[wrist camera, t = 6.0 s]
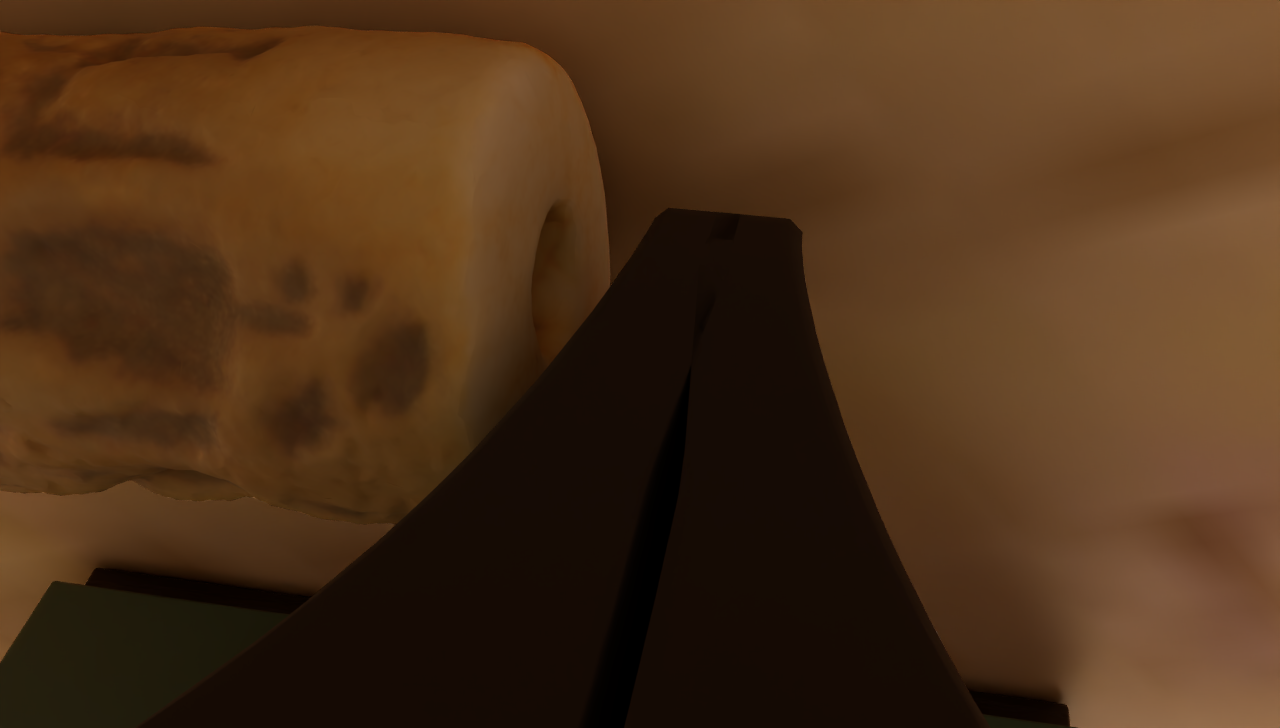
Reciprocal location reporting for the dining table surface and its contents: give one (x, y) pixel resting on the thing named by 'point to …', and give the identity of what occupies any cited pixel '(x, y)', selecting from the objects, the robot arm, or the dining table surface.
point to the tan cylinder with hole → (283, 258)
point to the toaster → (194, 652)
